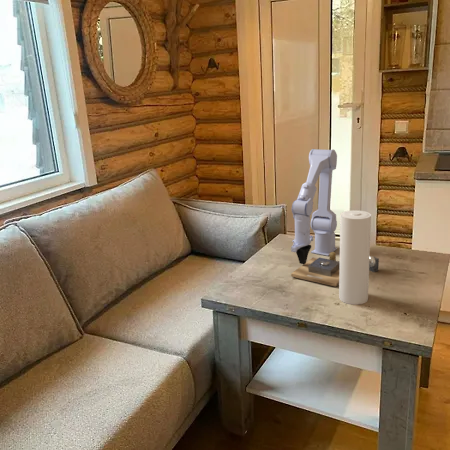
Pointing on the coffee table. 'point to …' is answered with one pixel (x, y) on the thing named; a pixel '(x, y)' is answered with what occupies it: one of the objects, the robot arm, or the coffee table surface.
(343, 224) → the cylinder container
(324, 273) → the cover
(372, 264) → the dial indicator
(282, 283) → the coffee table surface
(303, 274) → the wooden base with peg
